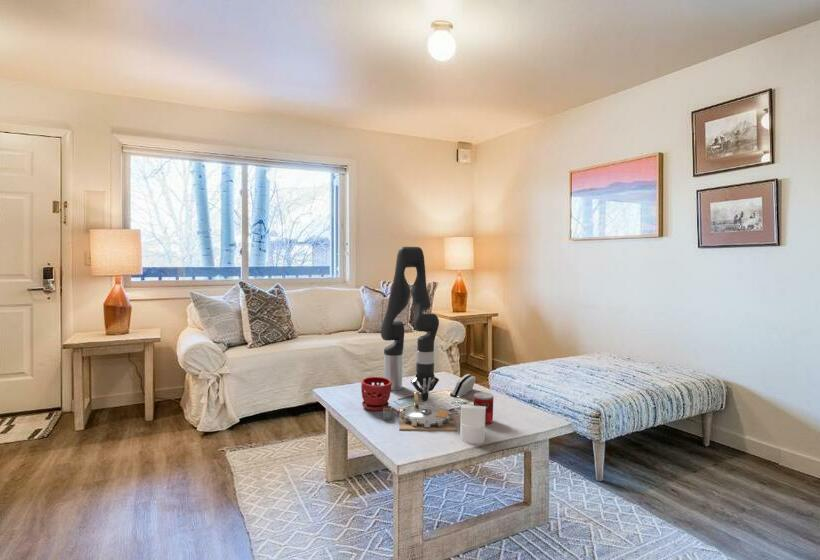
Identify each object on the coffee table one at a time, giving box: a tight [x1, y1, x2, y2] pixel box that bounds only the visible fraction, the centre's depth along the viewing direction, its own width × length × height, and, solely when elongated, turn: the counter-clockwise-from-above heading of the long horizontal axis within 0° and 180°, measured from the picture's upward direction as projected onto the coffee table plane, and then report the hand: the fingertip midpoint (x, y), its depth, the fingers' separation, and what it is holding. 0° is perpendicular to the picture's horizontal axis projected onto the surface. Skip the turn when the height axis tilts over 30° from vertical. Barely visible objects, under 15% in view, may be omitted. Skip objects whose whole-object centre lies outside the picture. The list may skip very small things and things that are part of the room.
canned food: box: [473, 391, 494, 426], centre depth 191 cm, size 8×8×11 cm
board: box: [398, 408, 457, 432], centre depth 192 cm, size 22×22×1 cm
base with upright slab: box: [459, 404, 486, 445], centre depth 174 cm, size 9×9×12 cm
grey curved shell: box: [449, 373, 477, 398], centre depth 227 cm, size 17×5×10 cm, turn 150°
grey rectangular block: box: [382, 405, 392, 422], centre depth 193 cm, size 6×3×4 cm, turn 1°
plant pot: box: [360, 376, 392, 412], centre depth 204 cm, size 13×13×12 cm
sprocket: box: [401, 391, 453, 427], centre depth 191 cm, size 20×20×8 cm
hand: (424, 400), depth 200 cm, fingers closed
